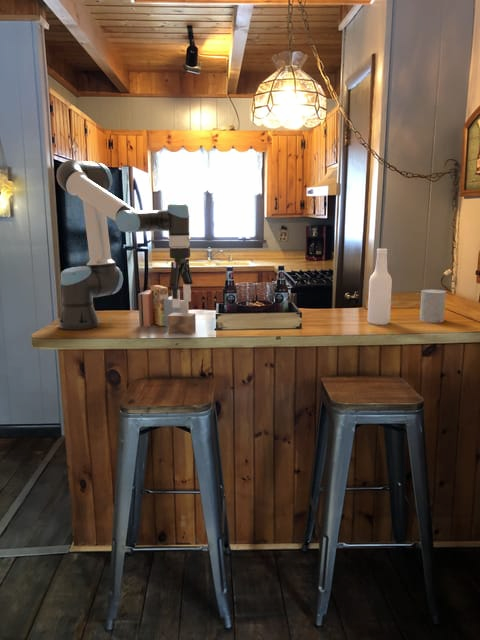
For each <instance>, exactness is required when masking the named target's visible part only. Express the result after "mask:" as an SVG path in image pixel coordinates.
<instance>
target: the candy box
mask: <svg viewBox="0 0 480 640" xmlns="http://www.w3.org/2000/svg"><path fill="white" fill-rule="evenodd" d="M149 288H150V289H149V290H151V292H152V296H153V316H154V324H155V325H158V326H161V327H162V326H164V327H165V321H164V299H168V297H169V286H163V285H160V284H156V285H150V286H149Z"/></svg>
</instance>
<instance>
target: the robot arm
mask: <svg viewBox="0 0 480 640" xmlns="http://www.w3.org/2000/svg"><path fill="white" fill-rule="evenodd" d="M56 180H57V183H58V185H59V186H60V187H61V189H63V190H64V191H65V192H66V193H68V194H69V195H71V196H77V197H78V198H79V199H81V201H82V205H83V211H84V212H83V214H84V221H85V222H84V223H85V231H86V238H87V246H88V247H87V248H88V255H89V256H88V257H89V260H88V262H87V263H86V265H82V266H81V265H79V266H72V267H69V268H68V267H67V268H65V269H64V270H62V271H61V272H60V282H59V283H60V288H61V299H62V300H61V302H62V311H61V314H60V319H59V322H58V323H59V324H58V325H59V328H60V329H62V330H68V331H79V330H88V329H93V328H96V327H99V326H100V322H99V321H100V319H99V317H98V315H97V312H96V310H95V309H96V308H94V307H95V306H94V299H93V298H99V297H104V296H111V295H114V294H116V293H117V292H119V291H120V290H121V289H122V286H123V282H124V276H123V272H122V271H121V268H119V267H118V266H116V261H115V260H113V258H112V255H111V246H110V237H109V227H108V218H109V219H110V220H113V221H114V222H115V225H116V227H117V229H118V230H119V231H121V232H122V233H130V234H131V233H137V232H138V233H141V232H164V231H165V232H166V231H167V232H168V246H169V258H171V259H174V261H171V263H170V265H171V266H170V276H169V285H168V291H169V290H170V291H171V296H172V308H180V300H181V298H180V297H181V296H180V295H181V294H180V293H181V292H180V289H179V288H180V283H181V278H182V281H183V285H182V286H183V287H182V292H183V300H184V301H188V302H192V293H191V292H192V290H191V287H192V286H191V285H193V278H192V273H191V268H190V257H191V248H190V243H191V242H190V241H191V240H192V237H190V215H189V212H190V211H189V207H188V205H187V204H185V203H182V204H181V203H178V204H177V203H176V204H175V203H172V204H171V203H170V204H168V205H167V209H166V210H164V209H162V210H161V209H156V210H155V209H154V210H150V209H149V210H145V209H144V210H143V209H142V210H141V209H139V210H138V209H135V208H134V207H132V206H131V205H129V204H127V203H126V202H124V201H123V200H122V199H120V198H118V197H117V196H115V195H114V194H112V193H111V192H109V191H110V190H111V189H112V187H111V186H113V175H112V173H111V170H110V168H108V167H107V166H106V165H105V164H103V163H101V162H97V161H88V160H87V161H86V160H76V159H68V160H66V161H64V162H62V163H61V164H60V165H59V167H58V168H57V170H56ZM107 217H108V218H107Z"/></svg>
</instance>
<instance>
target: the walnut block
mask: <svg viewBox="0 0 480 640" xmlns="http://www.w3.org/2000/svg"><path fill="white" fill-rule="evenodd" d="M196 322H197V321H196V313H194V312H192V313H191V312H189V313H171V314H170V315H168V327H167V333H168V334H169V335H171V334H173V335H190V336H191V335H193V334H194V333H195V332H197V331H196V329H197V328H196V327H197V325H196Z"/></svg>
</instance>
